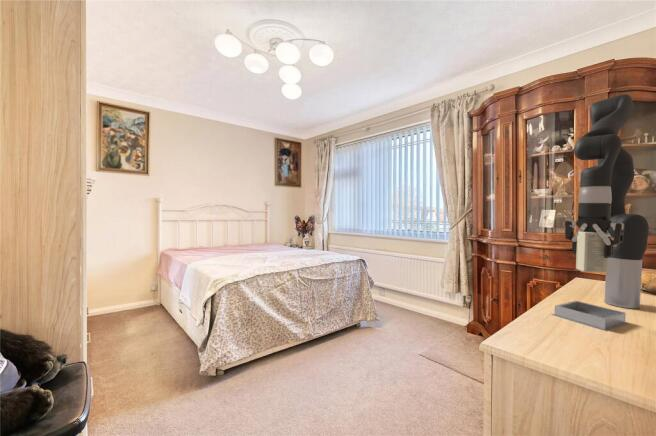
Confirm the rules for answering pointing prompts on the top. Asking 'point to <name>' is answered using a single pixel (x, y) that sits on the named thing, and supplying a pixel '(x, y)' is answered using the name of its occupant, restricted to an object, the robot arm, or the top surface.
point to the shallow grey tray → (608, 320)
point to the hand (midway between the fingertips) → (591, 255)
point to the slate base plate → (596, 327)
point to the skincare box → (590, 252)
